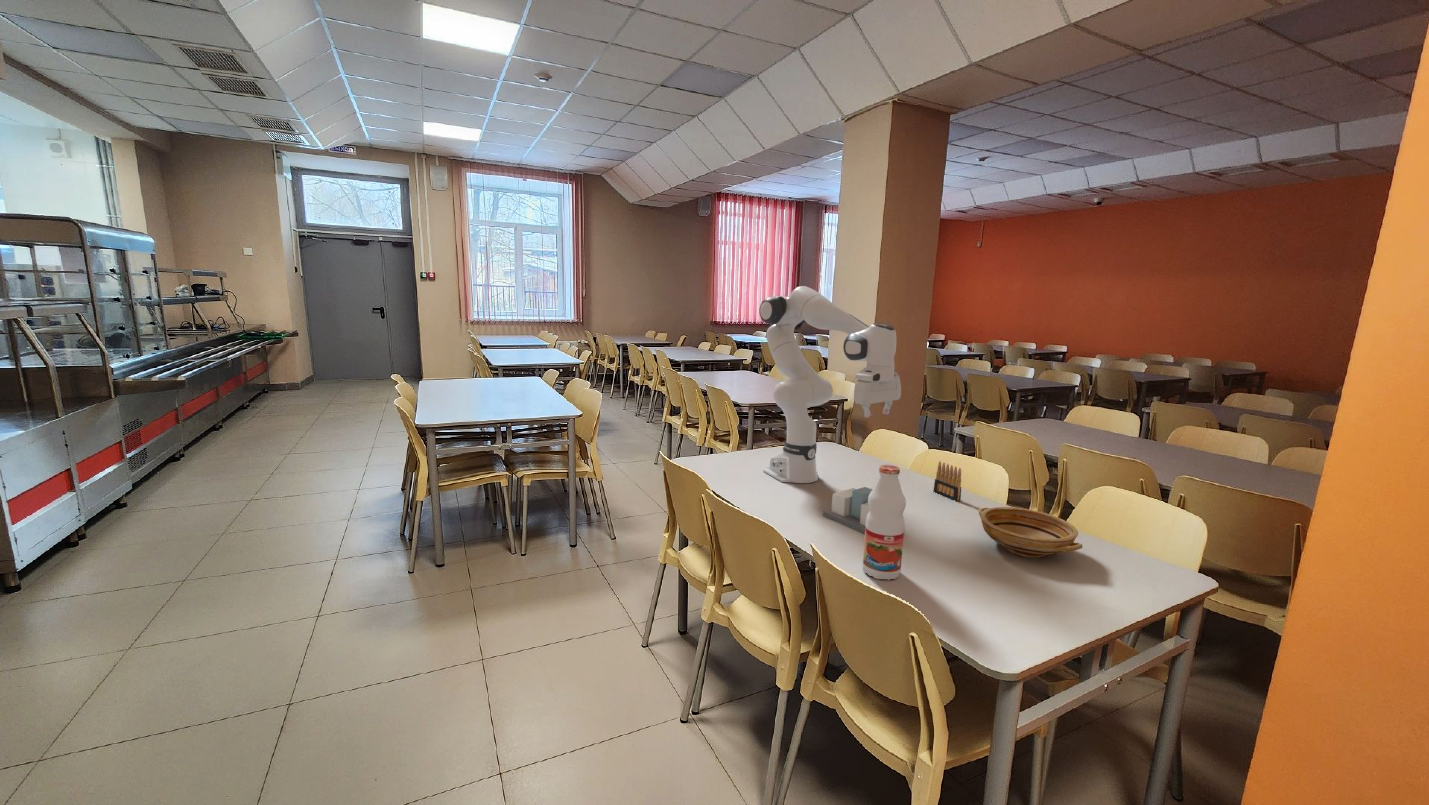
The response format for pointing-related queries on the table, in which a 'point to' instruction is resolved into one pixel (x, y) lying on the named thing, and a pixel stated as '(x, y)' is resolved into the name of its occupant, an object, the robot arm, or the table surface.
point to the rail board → (845, 520)
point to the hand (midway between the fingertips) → (876, 415)
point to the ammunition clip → (948, 482)
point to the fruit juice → (885, 526)
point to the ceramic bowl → (1029, 531)
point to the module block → (859, 500)
